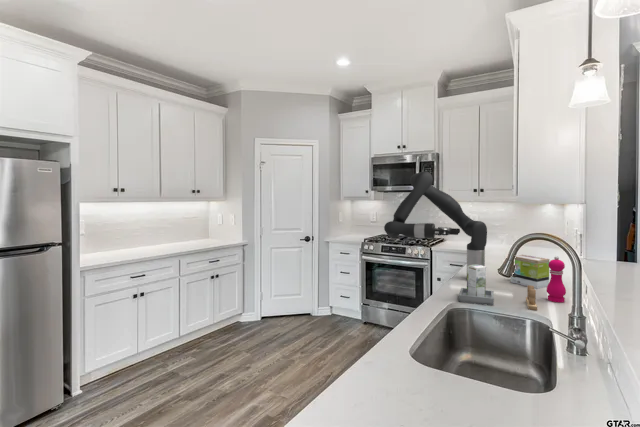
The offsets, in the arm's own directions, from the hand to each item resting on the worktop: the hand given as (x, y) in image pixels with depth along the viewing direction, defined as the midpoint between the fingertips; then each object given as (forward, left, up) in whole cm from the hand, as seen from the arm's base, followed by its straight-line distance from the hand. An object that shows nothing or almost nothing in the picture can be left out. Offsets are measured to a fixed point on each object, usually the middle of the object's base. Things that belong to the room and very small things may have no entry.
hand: (459, 231), depth 169 cm
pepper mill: (-4, +40, -30) cm, 50 cm away
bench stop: (+8, +30, -30) cm, 43 cm away
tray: (+8, +8, -30) cm, 32 cm away
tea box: (-32, +32, -30) cm, 55 cm away
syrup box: (+8, +8, -29) cm, 31 cm away
